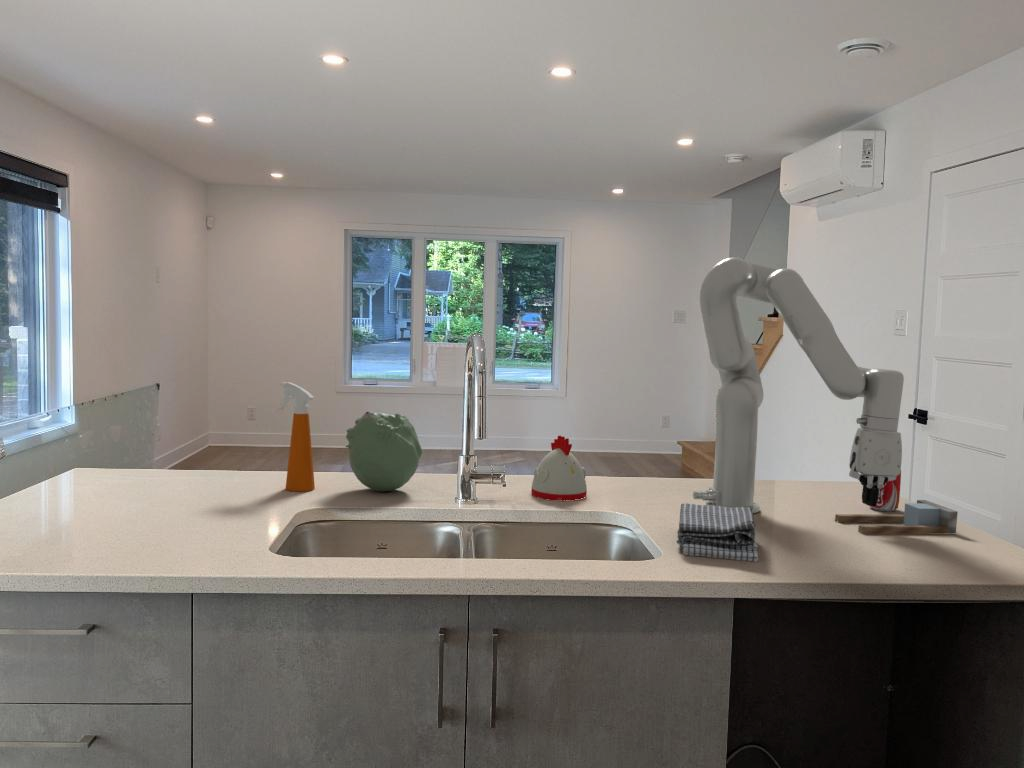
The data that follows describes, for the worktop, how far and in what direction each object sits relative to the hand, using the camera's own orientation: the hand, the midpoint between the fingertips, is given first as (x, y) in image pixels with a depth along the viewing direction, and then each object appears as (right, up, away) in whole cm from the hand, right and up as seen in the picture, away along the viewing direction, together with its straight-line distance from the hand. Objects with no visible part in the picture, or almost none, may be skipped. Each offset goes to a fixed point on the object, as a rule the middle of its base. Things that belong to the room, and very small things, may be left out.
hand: (869, 504), depth 178 cm
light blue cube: (+12, -5, 0) cm, 13 cm away
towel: (-40, -6, -21) cm, 46 cm away
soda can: (+11, -4, +17) cm, 21 cm away
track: (+5, -5, -1) cm, 7 cm away
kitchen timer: (-69, -1, +21) cm, 72 cm away
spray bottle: (-135, +1, +18) cm, 136 cm away
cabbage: (-113, 0, +19) cm, 114 cm away
